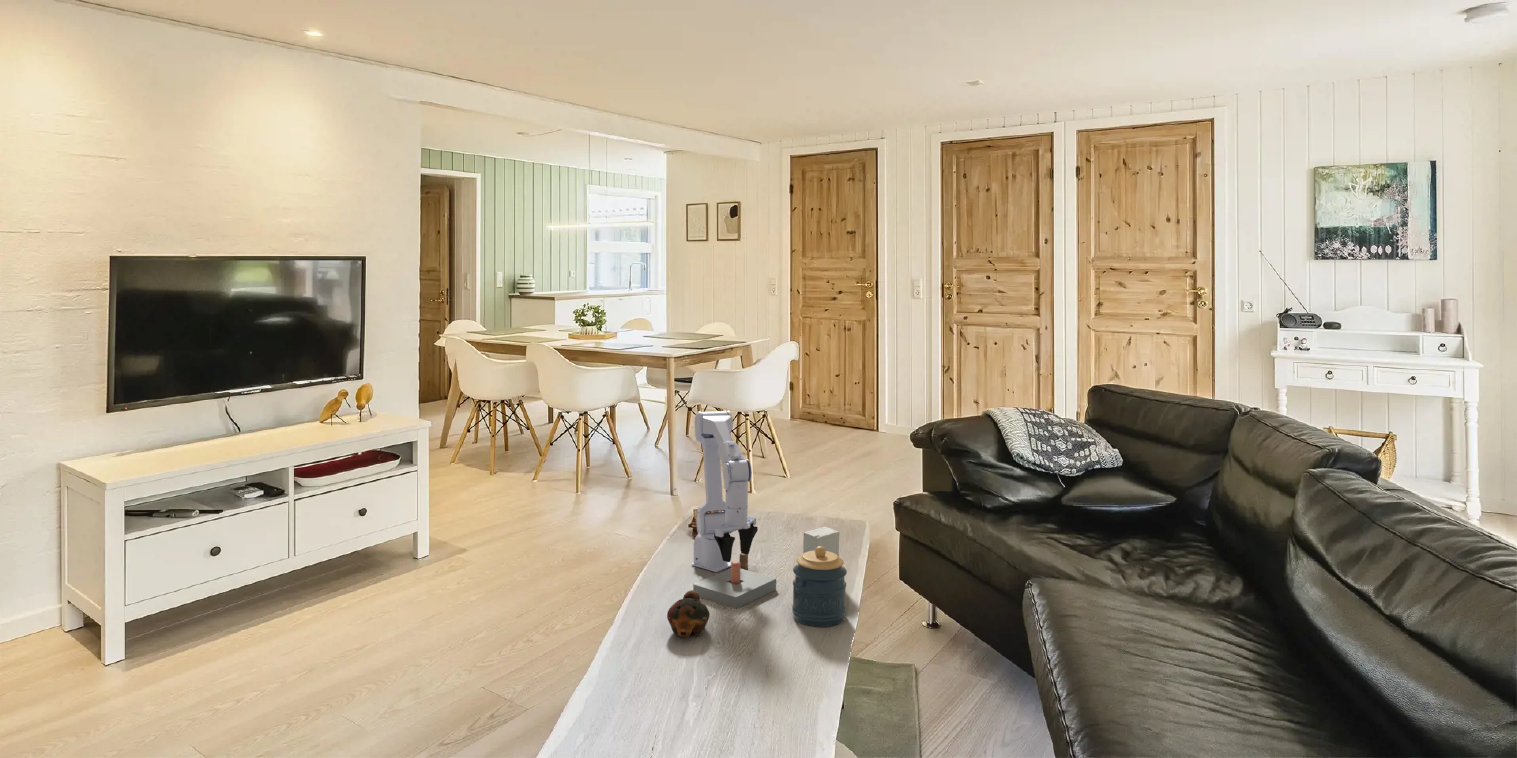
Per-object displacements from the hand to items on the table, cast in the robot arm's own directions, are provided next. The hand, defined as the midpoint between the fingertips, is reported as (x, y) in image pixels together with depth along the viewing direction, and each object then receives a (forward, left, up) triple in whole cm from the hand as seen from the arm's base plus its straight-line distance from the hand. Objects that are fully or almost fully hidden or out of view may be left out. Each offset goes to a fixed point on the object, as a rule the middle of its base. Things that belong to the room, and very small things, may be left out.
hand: (735, 557), depth 219 cm
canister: (+26, 0, -10) cm, 27 cm away
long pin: (0, 0, -9) cm, 9 cm away
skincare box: (+14, +19, -10) cm, 25 cm away
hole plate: (0, 0, -9) cm, 9 cm away
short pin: (-9, +15, -9) cm, 20 cm away
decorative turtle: (+7, -26, -10) cm, 29 cm away
